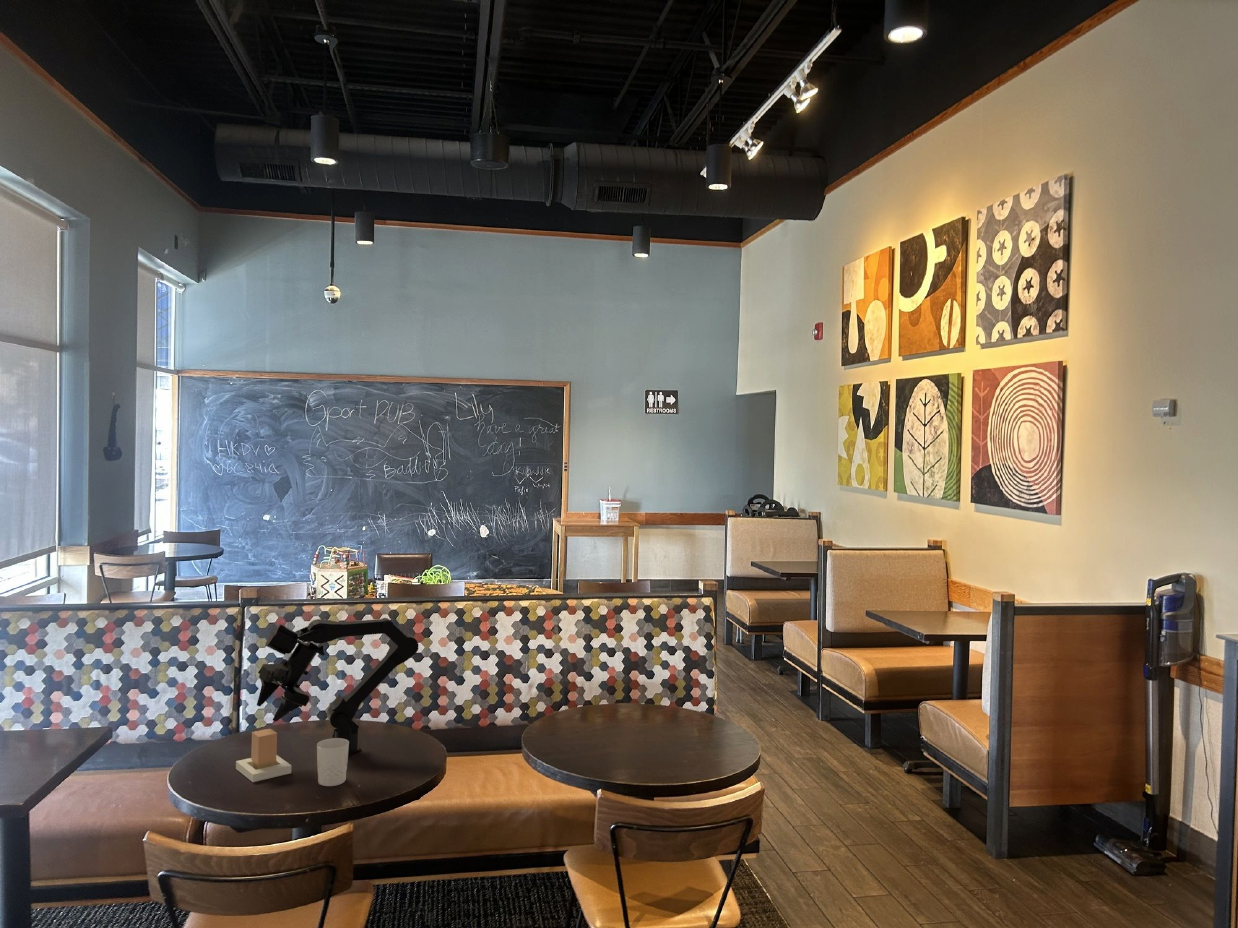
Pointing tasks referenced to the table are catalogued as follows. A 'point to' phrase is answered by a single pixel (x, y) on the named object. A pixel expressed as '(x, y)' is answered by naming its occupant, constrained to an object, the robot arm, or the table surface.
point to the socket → (263, 769)
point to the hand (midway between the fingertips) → (266, 713)
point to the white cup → (332, 761)
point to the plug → (264, 748)
